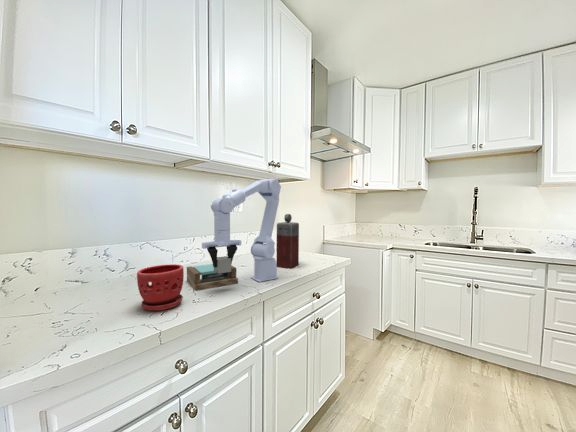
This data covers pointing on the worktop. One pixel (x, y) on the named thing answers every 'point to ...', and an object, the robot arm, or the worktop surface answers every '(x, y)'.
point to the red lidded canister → (287, 243)
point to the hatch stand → (194, 281)
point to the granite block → (223, 265)
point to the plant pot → (160, 286)
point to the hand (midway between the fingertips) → (222, 265)
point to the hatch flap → (208, 272)
